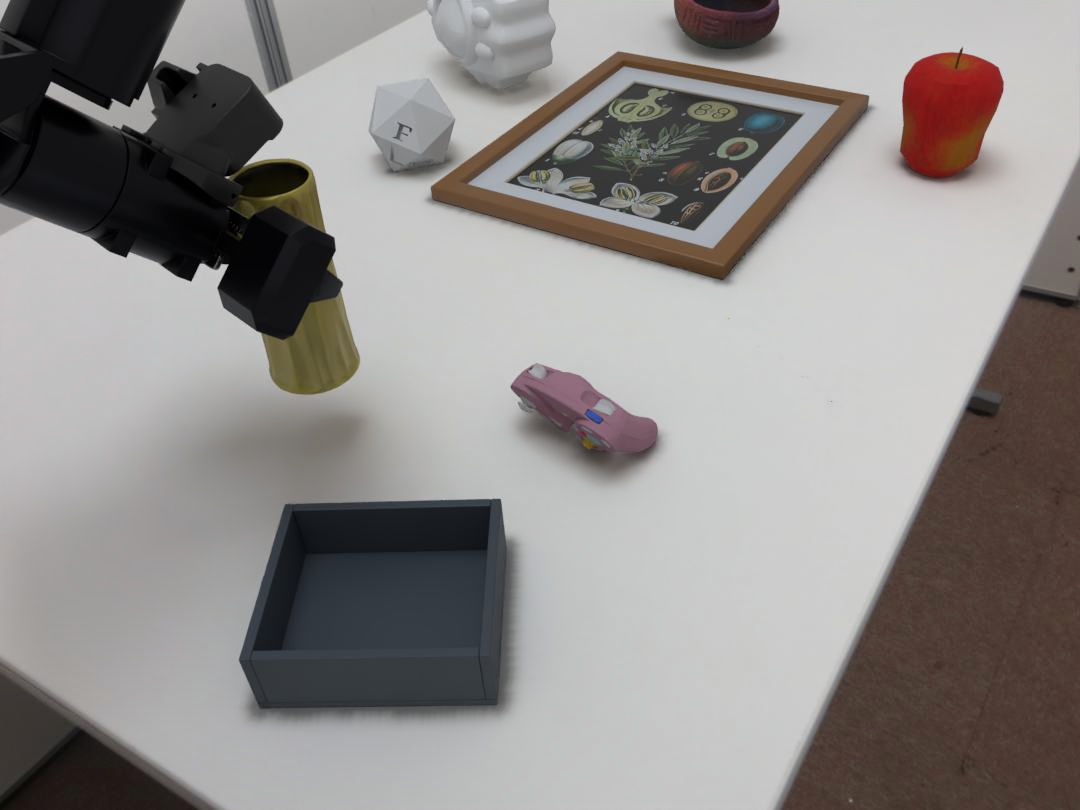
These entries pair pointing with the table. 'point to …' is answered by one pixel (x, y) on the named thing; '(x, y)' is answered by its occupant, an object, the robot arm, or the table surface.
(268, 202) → the vase
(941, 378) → the table surface
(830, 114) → the picture frame
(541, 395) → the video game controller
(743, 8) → the bowl
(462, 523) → the bin
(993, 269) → the table surface
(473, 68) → the white ridged sculpture
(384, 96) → the die
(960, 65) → the apple
